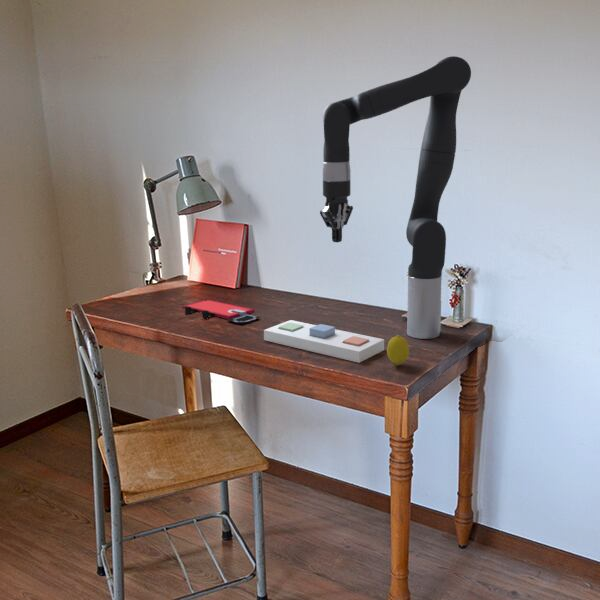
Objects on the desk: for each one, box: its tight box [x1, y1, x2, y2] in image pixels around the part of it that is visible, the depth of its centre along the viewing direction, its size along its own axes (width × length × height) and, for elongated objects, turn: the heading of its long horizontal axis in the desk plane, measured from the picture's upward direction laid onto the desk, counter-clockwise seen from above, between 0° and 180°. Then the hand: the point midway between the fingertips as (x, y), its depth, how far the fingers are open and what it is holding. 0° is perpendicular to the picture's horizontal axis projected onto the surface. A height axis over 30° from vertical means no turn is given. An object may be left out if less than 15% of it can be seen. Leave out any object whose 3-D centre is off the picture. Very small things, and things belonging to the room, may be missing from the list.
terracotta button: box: [343, 336, 369, 347], centre depth 188 cm, size 5×5×2 cm
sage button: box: [279, 323, 303, 332], centre depth 201 cm, size 5×5×2 cm
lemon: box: [386, 334, 410, 367], centre depth 178 cm, size 6×6×8 cm
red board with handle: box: [181, 299, 261, 324], centre depth 227 cm, size 30×3×15 cm
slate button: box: [309, 323, 336, 339], centre depth 194 cm, size 5×5×2 cm
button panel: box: [263, 319, 385, 364], centre depth 195 cm, size 12×32×3 cm, turn 52°
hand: (336, 241), depth 197 cm, fingers closed
